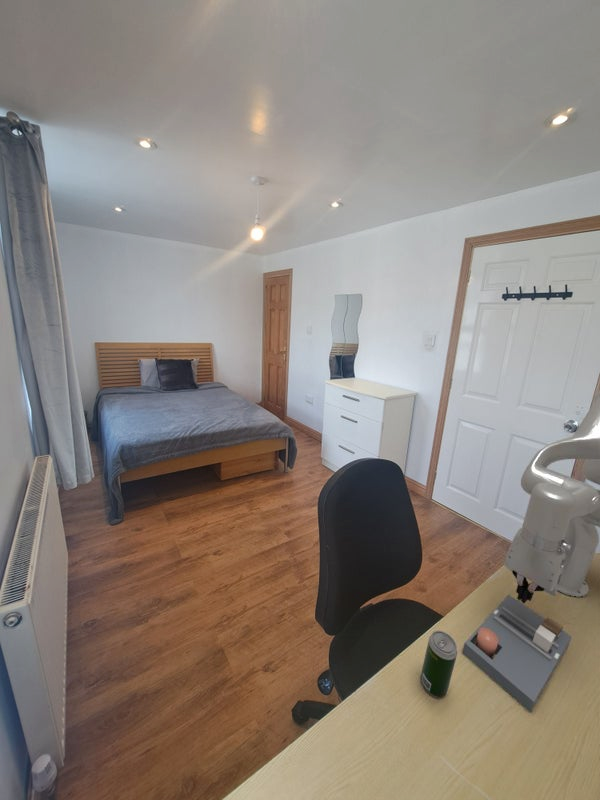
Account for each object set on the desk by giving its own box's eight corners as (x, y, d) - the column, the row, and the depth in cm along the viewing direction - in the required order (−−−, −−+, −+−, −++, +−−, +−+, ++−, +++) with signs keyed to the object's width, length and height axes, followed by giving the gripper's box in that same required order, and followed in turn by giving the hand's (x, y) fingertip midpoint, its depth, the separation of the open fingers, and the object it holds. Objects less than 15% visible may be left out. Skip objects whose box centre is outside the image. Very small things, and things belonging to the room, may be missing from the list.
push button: (480, 635, 77) (483, 624, 76) (498, 649, 74) (501, 638, 73) (472, 644, 74) (475, 633, 74) (490, 659, 71) (493, 648, 70)
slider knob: (536, 635, 76) (540, 624, 75) (551, 645, 74) (555, 635, 73) (532, 642, 75) (535, 631, 74) (547, 653, 72) (551, 642, 71)
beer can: (436, 705, 64) (448, 661, 61) (414, 679, 68) (424, 637, 65) (452, 689, 67) (463, 646, 64) (429, 666, 71) (439, 624, 68)
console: (506, 603, 89) (509, 592, 88) (568, 645, 78) (572, 634, 77) (462, 652, 75) (465, 640, 74) (530, 712, 64) (535, 699, 63)
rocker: (546, 619, 80) (547, 616, 80) (561, 629, 78) (563, 626, 78) (540, 626, 77) (541, 623, 77) (556, 637, 75) (557, 633, 75)
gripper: (588, 549, 69) (565, 613, 74) (512, 513, 80) (497, 570, 86) (577, 565, 64) (554, 632, 70) (498, 524, 76) (484, 584, 81)
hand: (523, 598), depth 78 cm, fingers closed
